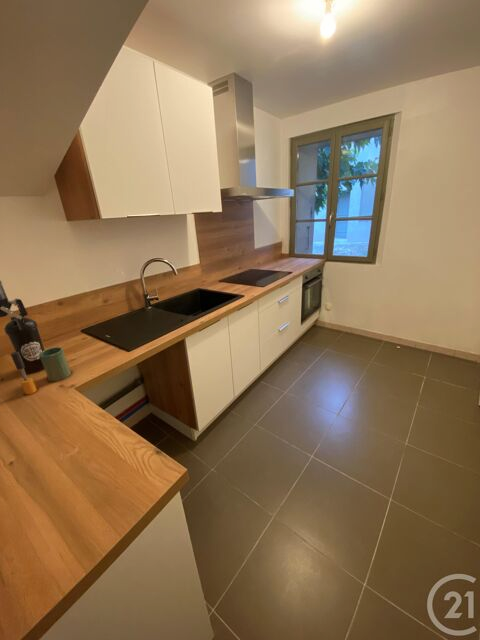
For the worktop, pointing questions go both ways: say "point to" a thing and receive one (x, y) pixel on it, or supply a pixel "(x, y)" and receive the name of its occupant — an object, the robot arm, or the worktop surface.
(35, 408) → the worktop surface
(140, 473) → the worktop surface
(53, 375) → the cup
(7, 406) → the worktop surface
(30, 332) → the water bottle
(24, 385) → the brush
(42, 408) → the worktop surface
